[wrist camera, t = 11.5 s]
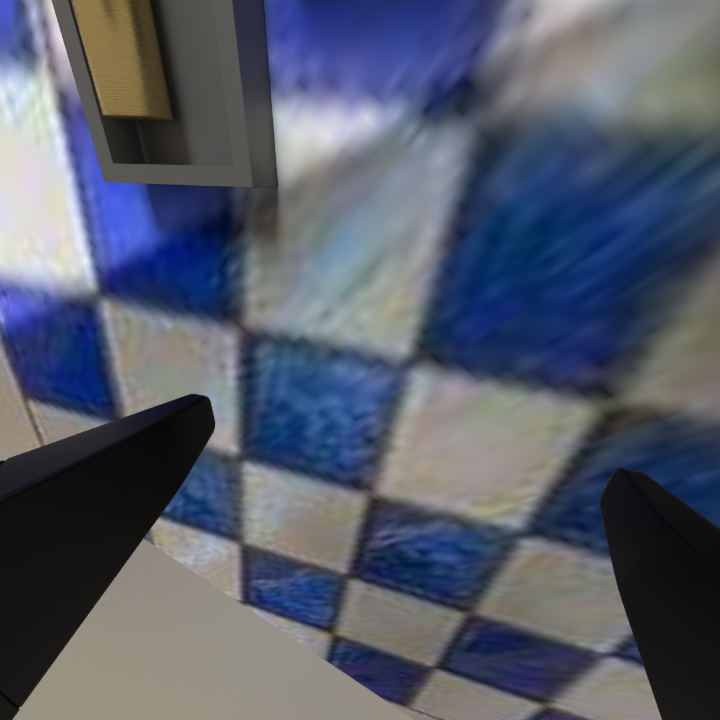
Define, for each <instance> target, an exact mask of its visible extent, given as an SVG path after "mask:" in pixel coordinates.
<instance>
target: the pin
mask: <svg viewBox="0 0 720 720" xmlns="http://www.w3.org/2000/svg"><path fill="white" fill-rule="evenodd" d="M71 2H72V5H73V9H74V13H75V16H76V20H77V24H78V27H79V31H80V34H81V38H82V42H83V45H84V49H85V53H86V56H87V60H88V64H89V67H90V71H91V74H92V78H93V82H94V85H95V89H96V93H97V96H98V100H99V103H100V107H101V111H102V114H103V116H105V117H109V118H113V119H119V120H127V121H136V122H152V123H167V122H173V121H174V119H173V114H172V109H171V104H170V99H169V94H168V88H167V83H166V78H165V73H164V68H163V63H162V58H161V53H160V48H159V43H158V38H157V32H156V27H155V22H154V17H153V12H152V7H151V2H150V0H71Z"/></svg>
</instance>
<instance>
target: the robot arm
mask: <svg viewBox="0 0 720 720" xmlns="http://www.w3.org/2000/svg"><path fill="white" fill-rule="evenodd" d="M214 429H215V419H214V415H213V410H212V406H211V401H210V399H209V398H208V397H207V396H203V395H198V394H189V395H186V396H184V397H181V398H178V399H175V400H172V401H169V402H167V403H164V404H161V405H158V406H155V407H152V408H150V409H147V410H144V411H141V412H138V413H135V414H133V415H130V416H127V417H124V418H121V419H118V420H116V421H113V422H110V423H107V424H104V425H101V426H99V427H96V428H93V429H90V430H87V431H84V432H82V433H79V434H76V435H73V436H70V437H67V438H65V439H62V440H59V441H56V442H53V443H50V444H48V445H45V446H42V447H39V448H36V449H33V450H31V451H28V452H25V453H22V454H19V455H16V456H14V457H11V458H8V459H7V460H6V461H0V720H12V719H13V718H14V717H15V715H16V714H17V713H18V711H19V707H21V706H22V705H23V704H24V702H25V701H26V700H27V698H28V697H29V696H30V694H31V693H32V691H33V690H34V689H35V687H36V686H37V685H38V683H39V682H40V680H41V679H42V678H43V676H44V675H45V674H46V672H47V671H48V669H49V668H50V667H51V665H52V664H53V662H54V661H55V660H56V658H57V657H58V656H59V654H60V653H61V651H62V650H63V649H64V647H65V646H66V645H67V643H68V642H69V640H70V639H71V638H72V636H73V635H74V633H75V632H76V631H77V629H78V628H79V627H80V625H81V624H82V623H83V621H84V620H85V618H86V617H87V616H88V614H89V613H90V612H91V610H92V609H93V607H94V606H95V604H96V603H97V601H98V600H99V599H100V598H101V596H102V595H103V593H104V592H105V591H106V589H107V588H108V587H109V585H110V584H111V583H112V581H113V580H114V578H115V577H116V576H117V574H118V573H119V572H120V570H121V569H122V567H123V566H124V565H125V563H126V562H127V560H128V559H129V558H130V556H131V555H132V553H133V552H134V551H135V549H136V548H137V547H138V545H139V544H140V542H141V541H142V540H143V538H144V537H145V536H146V534H147V533H148V531H149V530H150V529H151V527H152V526H153V525H154V523H155V522H156V520H157V519H158V518H159V516H160V515H161V514H162V512H163V511H164V509H165V508H166V507H167V505H168V504H169V503H170V501H171V500H172V498H173V497H174V496H175V494H176V493H177V491H178V490H179V488H180V487H181V486H182V484H183V482H184V481H185V479H186V478H187V476H188V474H189V473H190V471H191V469H192V468H193V466H194V464H195V462H196V461H197V459H198V457H199V456H200V454H201V452H202V451H203V449H204V447H205V445H206V444H207V442H208V440H209V439H210V437H211V435H212V434H213V431H214ZM600 511H601V515H602V520H603V524H604V529H605V533H606V538H607V542H608V547H609V551H610V556H611V560H612V565H613V569H614V574H615V578H616V582H617V586H618V589H619V592H620V596H621V599H622V602H623V605H624V608H625V611H626V614H627V617H628V620H629V623H630V626H631V629H632V632H633V635H634V638H635V641H636V644H637V647H638V650H639V653H640V656H641V659H642V662H643V665H644V668H645V671H646V674H647V676H648V679H649V682H650V685H651V688H652V691H653V694H654V697H655V700H656V703H657V706H658V709H659V712H660V715H661V718H662V720H720V529H719V528H718V527H716V526H715V525H714V524H712V523H711V522H710V521H708V520H707V519H706V518H704V517H703V516H702V515H700V514H699V513H698V512H696V511H695V510H694V509H692V508H691V507H689V506H688V505H687V504H685V503H684V502H683V501H681V500H680V499H679V498H677V497H676V496H675V495H673V494H672V493H671V492H669V491H668V490H667V489H665V488H664V487H663V486H661V485H660V484H658V483H657V482H656V481H654V480H653V479H652V478H650V477H649V476H648V475H646V474H645V473H643V472H640V471H635V470H629V469H624V468H619V469H616V470H615V471H614V472H613V474H612V475H611V477H610V479H609V481H608V483H607V485H606V487H605V489H604V491H603V493H602V495H601V498H600Z"/></svg>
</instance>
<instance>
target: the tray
mask: <svg viewBox="0 0 720 720" xmlns="http://www.w3.org/2000/svg"><path fill="white" fill-rule="evenodd" d="M150 2H151V7H152V12H153V17H154V22H155V27H156V32H157V38H158V43H159V48H160V53H161V58H162V63H163V68H164V73H165V78H166V83H167V88H168V94H169V99H170V104H171V109H172V114H173V119H174V121H173V122H167V123H152V122H136V121H127V120H119V119H113V118H109V117H105V116H103V114H102V111H101V107H100V103H99V100H98V96H97V93H96V89H95V85H94V82H93V78H92V74H91V71H90V67H89V64H88V60H87V56H86V53H85V49H84V45H83V42H82V38H81V34H80V31H79V27H78V24H77V20H76V16H75V13H74V9H73V5H72V2H71V0H52V3H53V7H54V10H55V13H56V17H57V20H58V24H59V27H60V31H61V34H62V37H63V41H64V44H65V48H66V51H67V55H68V58H69V61H70V65H71V68H72V72H73V75H74V79H75V82H76V85H77V89H78V92H79V96H80V99H81V103H82V106H83V109H84V113H85V116H86V120H87V123H88V127H89V130H90V133H91V137H92V140H93V144H94V147H95V151H96V154H97V157H98V161H99V164H100V168H101V171H102V175H103V178H104V181H105V182H118V183H146V184H173V185H200V186H228V187H276V186H278V183H277V170H276V157H275V145H274V132H273V120H272V107H271V95H270V82H269V69H268V57H267V44H266V32H265V19H264V7H263V0H150Z"/></svg>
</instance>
